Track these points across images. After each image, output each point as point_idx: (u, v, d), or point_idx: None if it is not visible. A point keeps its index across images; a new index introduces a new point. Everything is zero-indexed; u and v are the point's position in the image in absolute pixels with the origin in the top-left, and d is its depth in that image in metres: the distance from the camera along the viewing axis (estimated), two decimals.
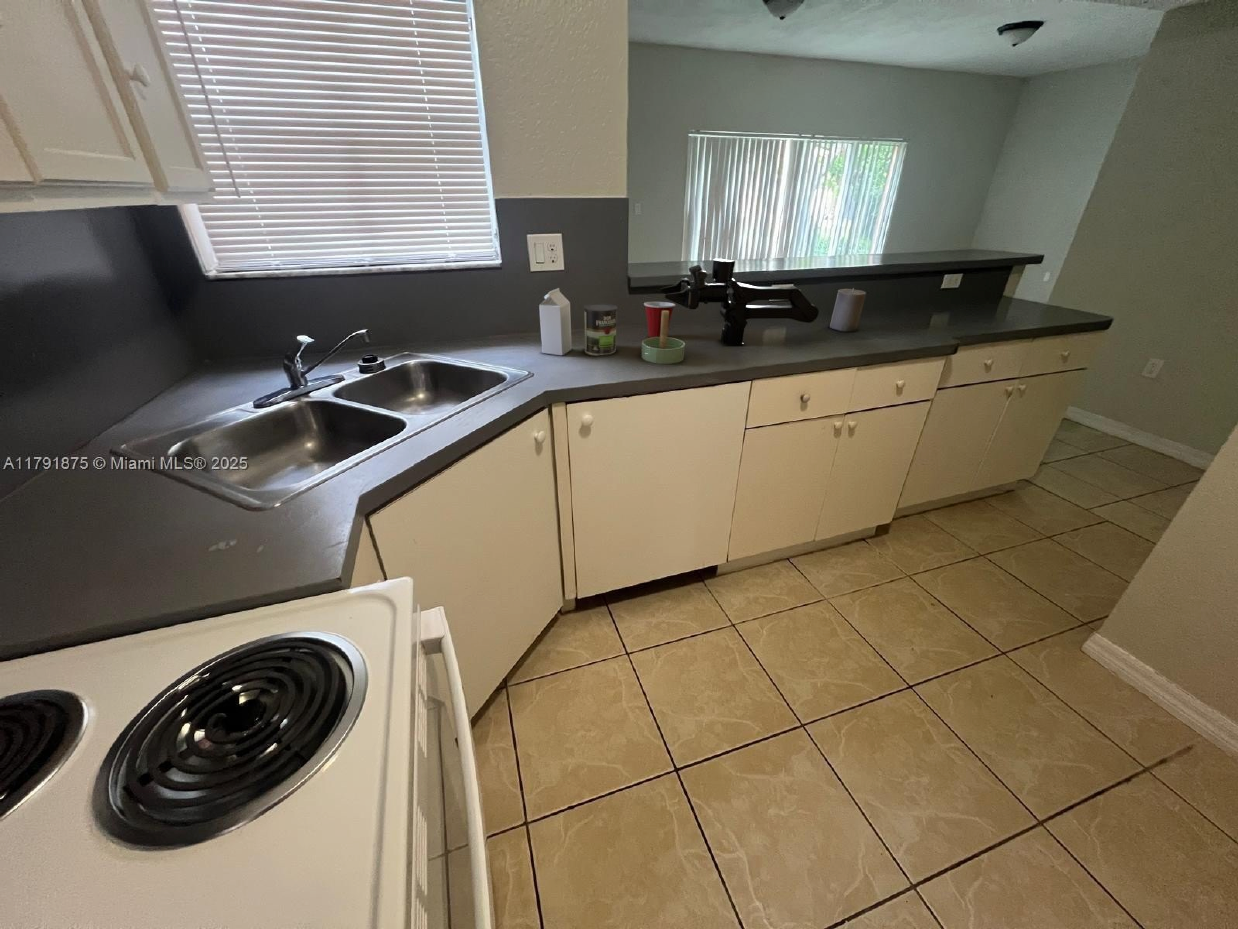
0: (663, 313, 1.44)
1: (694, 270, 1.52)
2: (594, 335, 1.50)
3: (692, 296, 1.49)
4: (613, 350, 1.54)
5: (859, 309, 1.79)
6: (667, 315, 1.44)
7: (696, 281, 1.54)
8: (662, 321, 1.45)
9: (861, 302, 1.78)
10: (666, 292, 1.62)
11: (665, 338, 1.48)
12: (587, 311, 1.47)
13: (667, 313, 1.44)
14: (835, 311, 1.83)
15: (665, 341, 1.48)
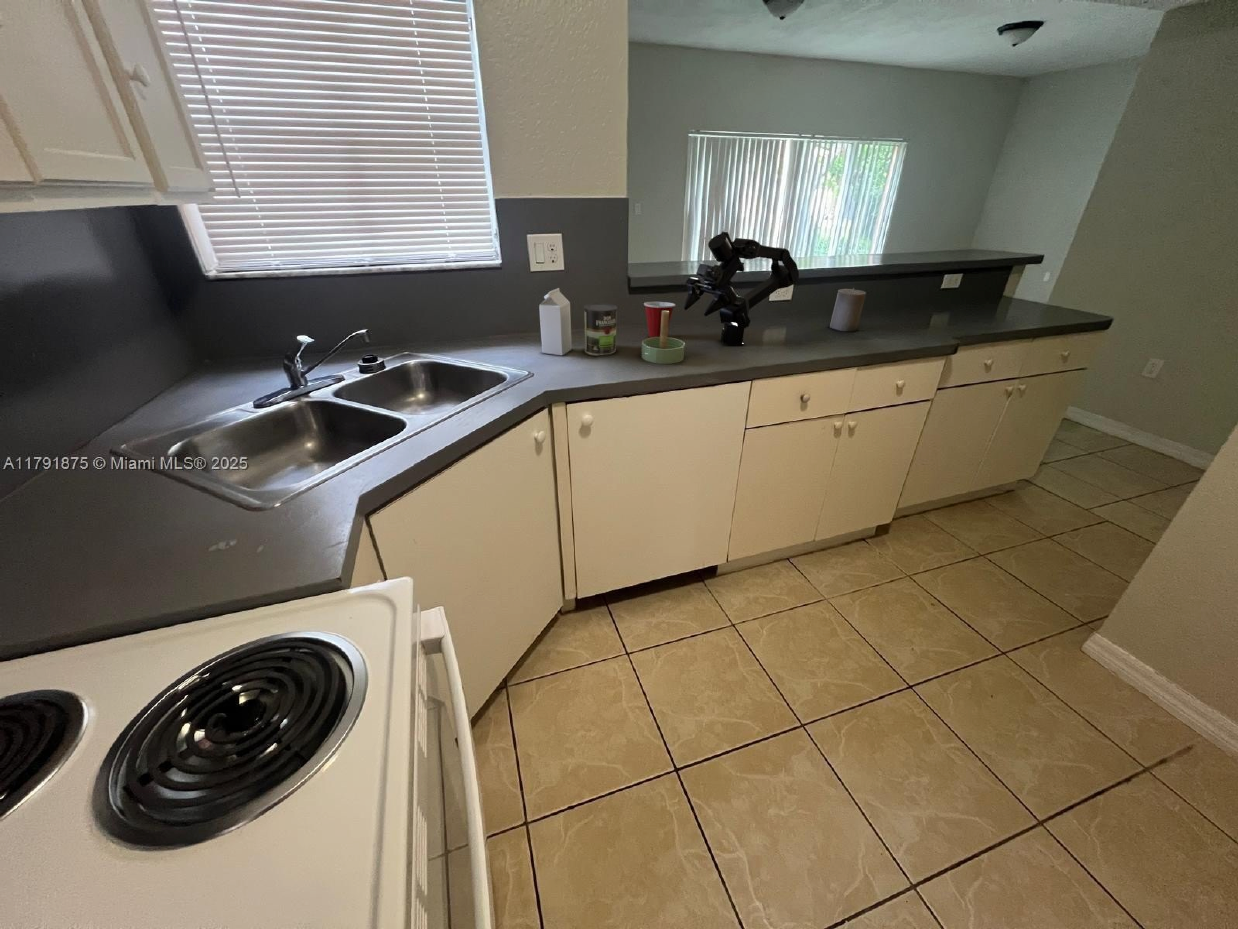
0: (663, 313, 1.44)
1: (707, 273, 1.45)
2: (594, 335, 1.50)
3: (729, 296, 1.45)
4: (613, 350, 1.54)
5: (859, 309, 1.79)
6: (667, 315, 1.44)
7: (714, 278, 1.47)
8: (662, 321, 1.45)
9: (861, 302, 1.78)
10: (689, 305, 1.55)
11: (665, 338, 1.48)
12: (587, 311, 1.47)
13: (667, 313, 1.44)
14: (835, 311, 1.83)
15: (665, 341, 1.48)
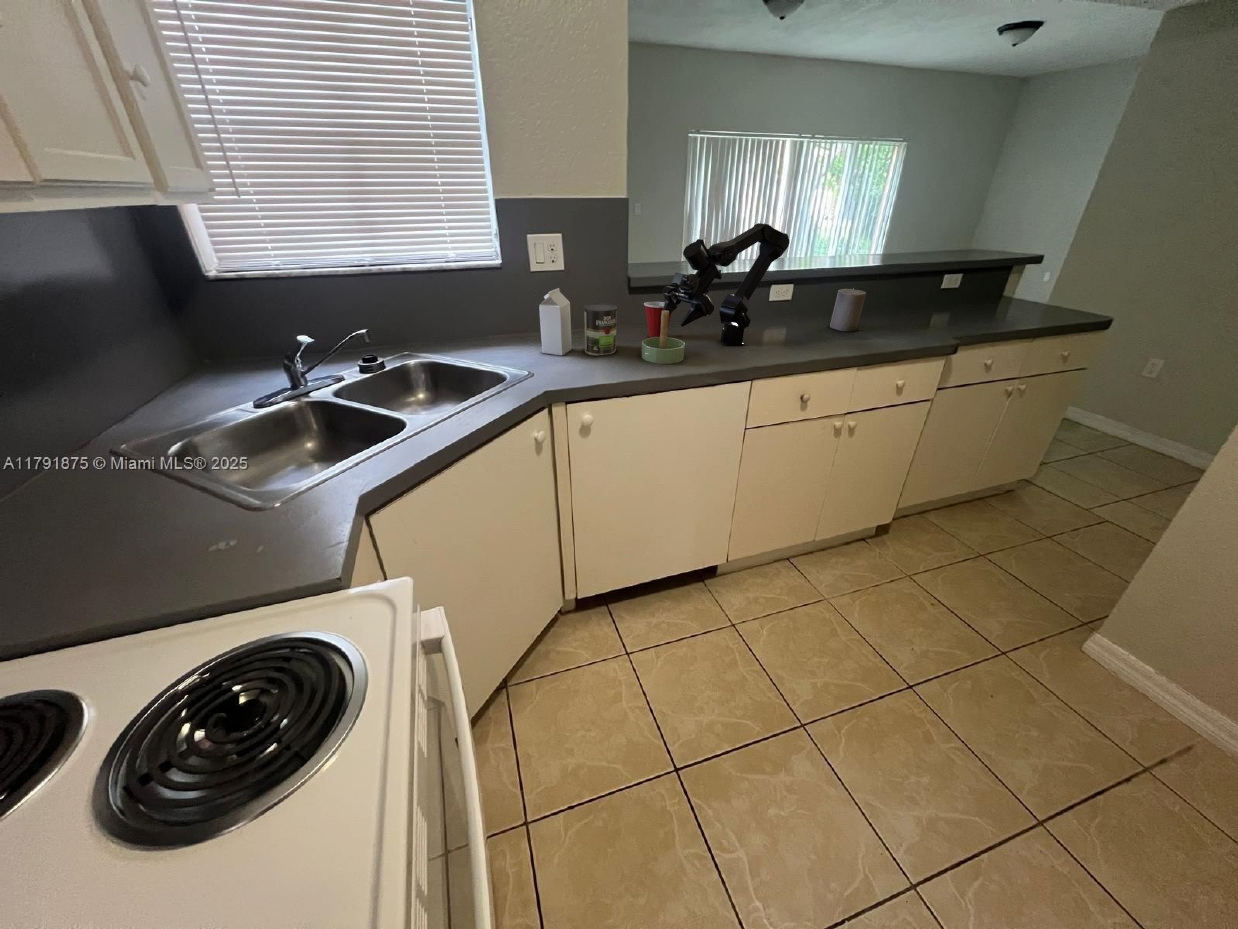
0: (663, 313, 1.44)
1: (682, 282, 1.41)
2: (594, 335, 1.50)
3: (706, 306, 1.40)
4: (613, 350, 1.54)
5: (859, 309, 1.79)
6: (667, 315, 1.44)
7: (690, 287, 1.43)
8: (662, 321, 1.45)
9: (861, 302, 1.78)
10: None
11: (665, 338, 1.48)
12: (587, 311, 1.47)
13: (667, 313, 1.44)
14: (835, 311, 1.83)
15: (665, 341, 1.48)
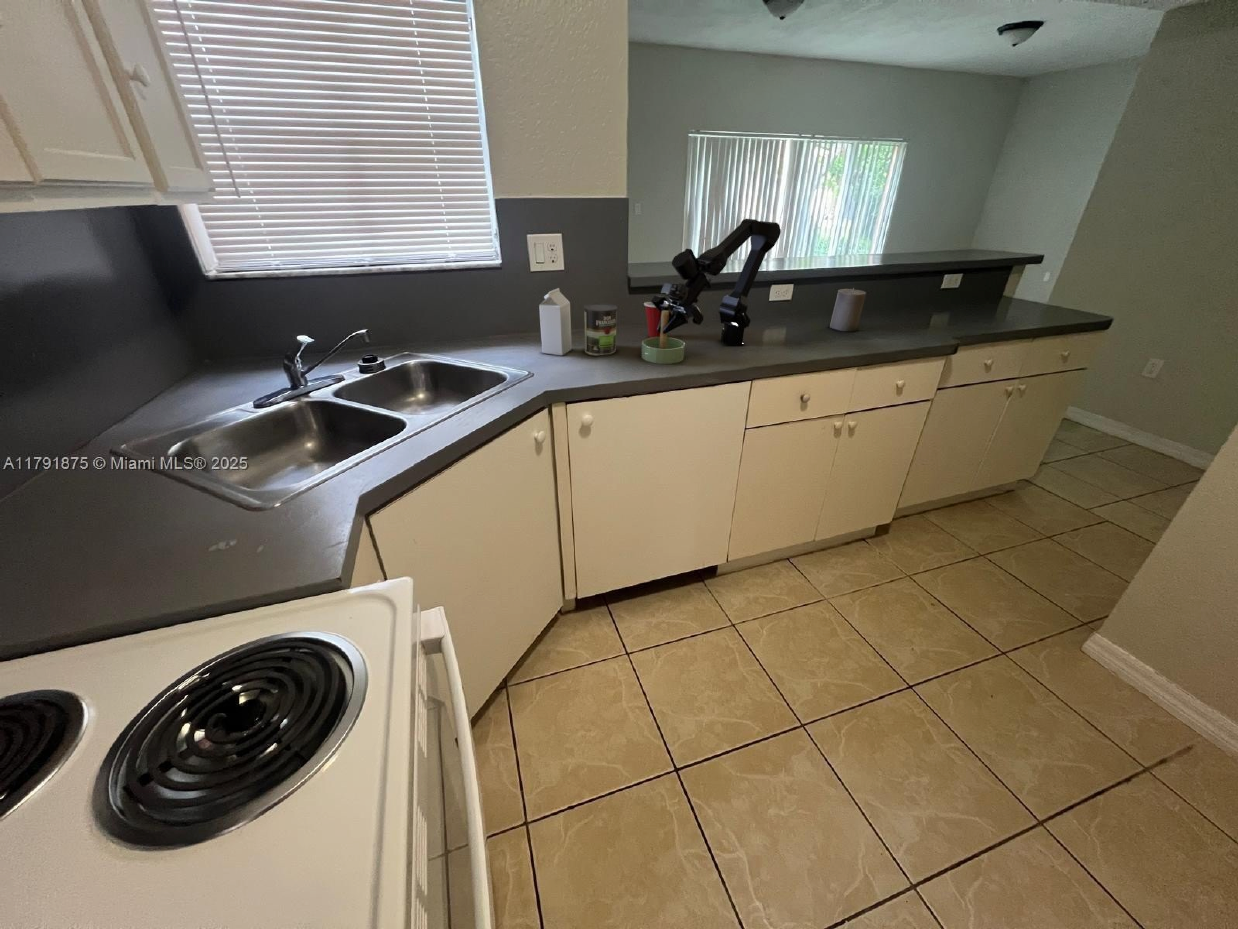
0: (663, 313, 1.44)
1: (671, 292, 1.40)
2: (594, 335, 1.50)
3: (695, 316, 1.40)
4: (613, 350, 1.54)
5: (859, 309, 1.79)
6: (667, 315, 1.44)
7: (679, 297, 1.42)
8: (662, 321, 1.45)
9: (861, 302, 1.78)
10: None
11: (665, 338, 1.48)
12: (587, 311, 1.47)
13: (667, 313, 1.44)
14: (835, 311, 1.83)
15: (665, 341, 1.48)
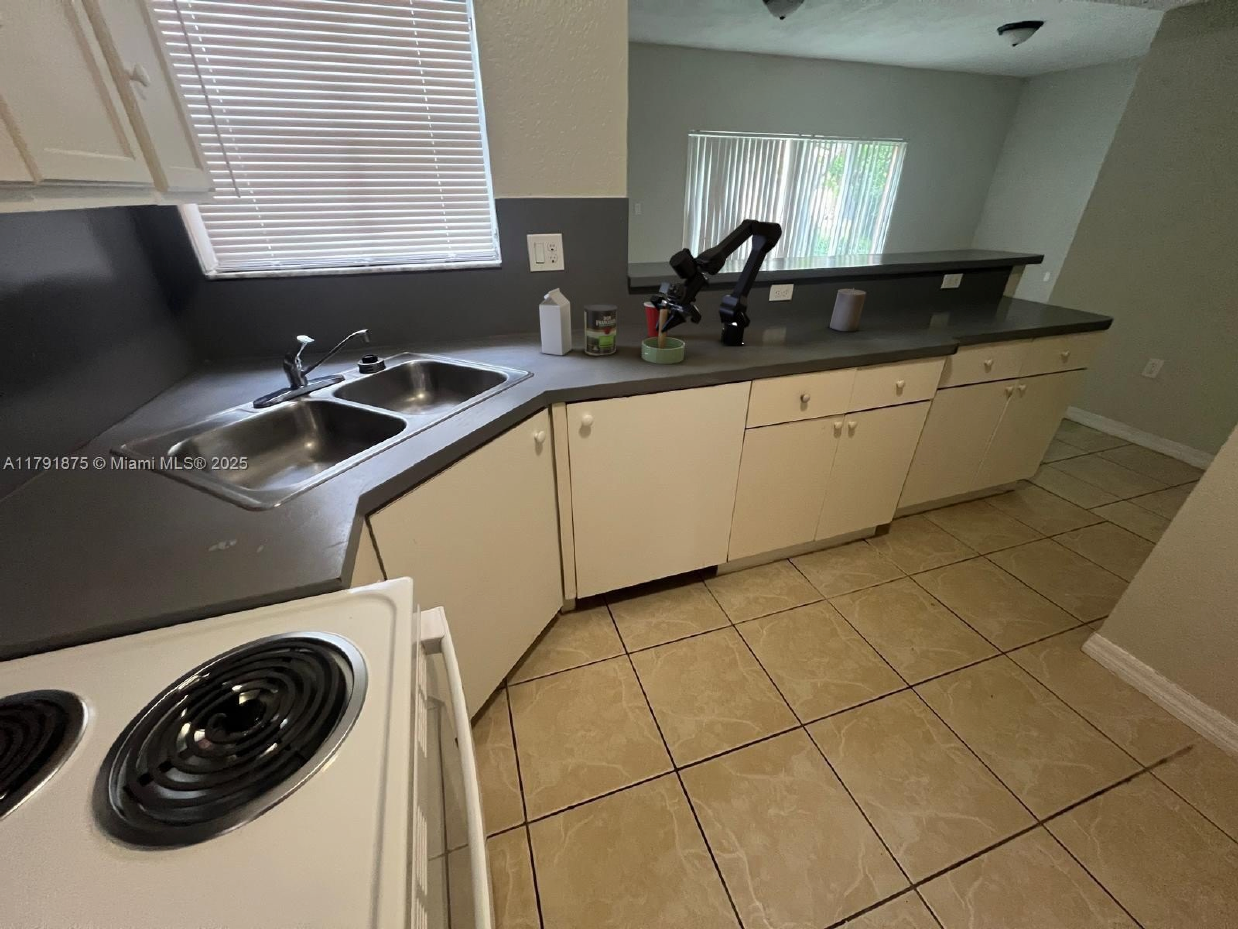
0: (661, 312, 1.45)
1: (669, 291, 1.41)
2: (594, 335, 1.50)
3: (693, 315, 1.40)
4: (613, 350, 1.54)
5: (859, 309, 1.79)
6: (665, 314, 1.45)
7: (677, 296, 1.43)
8: (660, 320, 1.46)
9: (861, 302, 1.78)
10: None
11: (663, 337, 1.48)
12: (587, 311, 1.47)
13: (665, 312, 1.45)
14: (835, 311, 1.83)
15: (663, 340, 1.49)
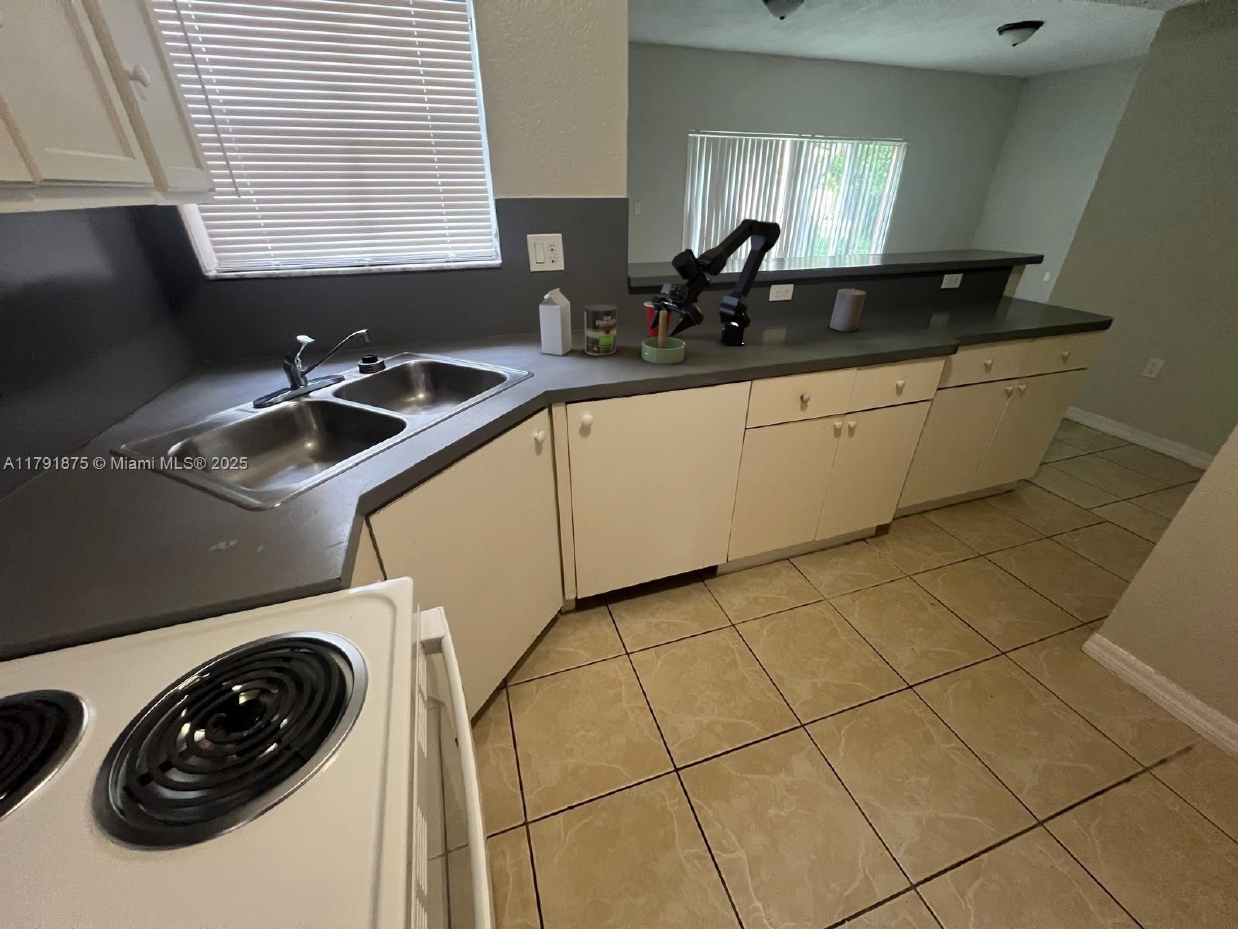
0: (661, 313, 1.44)
1: (671, 292, 1.40)
2: (594, 335, 1.50)
3: (695, 316, 1.40)
4: (613, 350, 1.54)
5: (859, 309, 1.79)
6: (665, 315, 1.44)
7: (679, 297, 1.42)
8: (660, 321, 1.45)
9: (861, 302, 1.78)
10: (655, 324, 1.50)
11: (663, 338, 1.47)
12: (587, 311, 1.47)
13: (665, 313, 1.44)
14: (835, 311, 1.83)
15: (663, 341, 1.48)
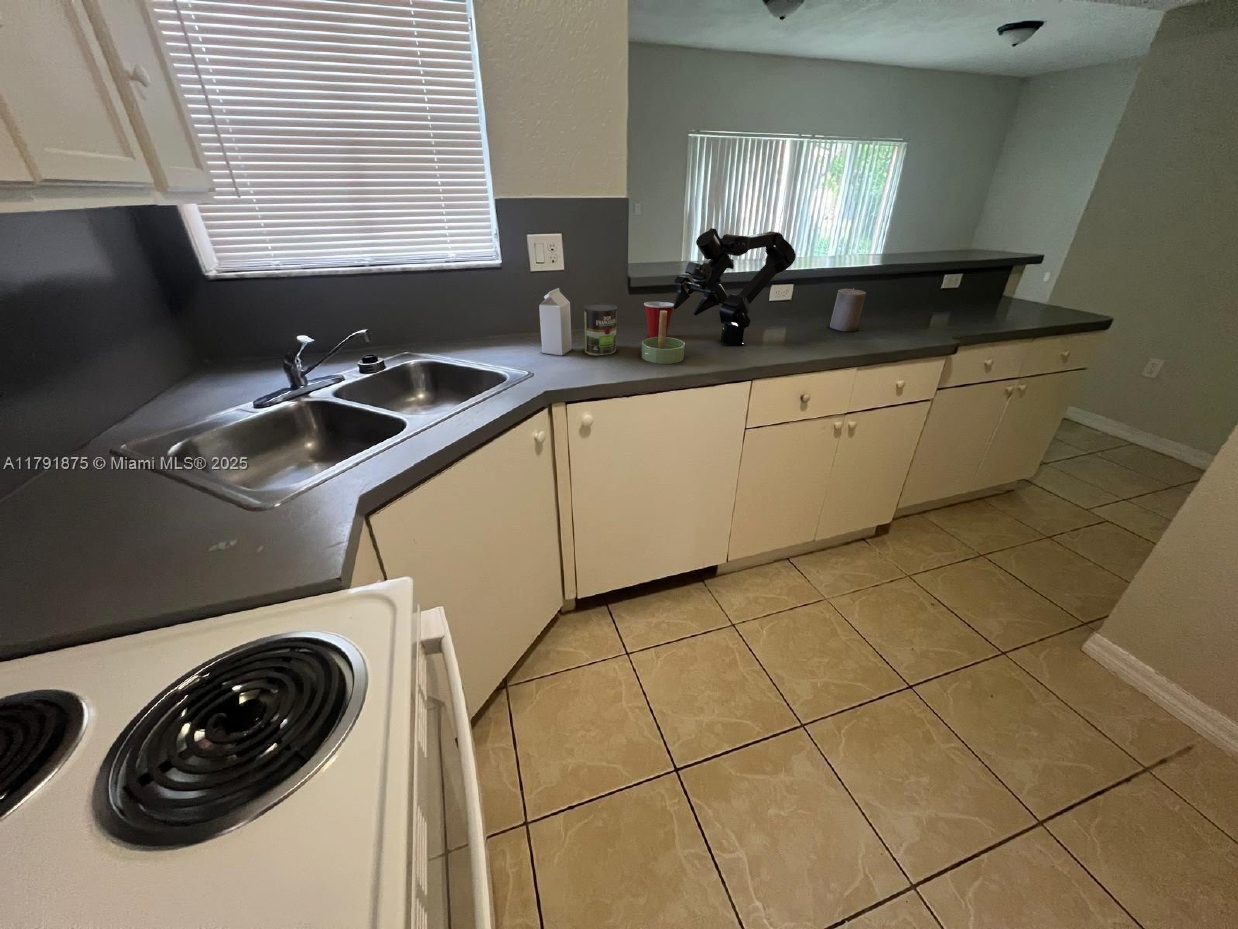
0: (661, 313, 1.44)
1: (696, 271, 1.42)
2: (594, 335, 1.50)
3: (719, 294, 1.42)
4: (613, 350, 1.54)
5: (859, 309, 1.79)
6: (665, 315, 1.44)
7: (703, 276, 1.44)
8: (660, 321, 1.45)
9: (861, 302, 1.78)
10: (678, 304, 1.52)
11: (663, 338, 1.47)
12: (587, 311, 1.47)
13: (665, 313, 1.44)
14: (835, 311, 1.83)
15: (663, 341, 1.48)
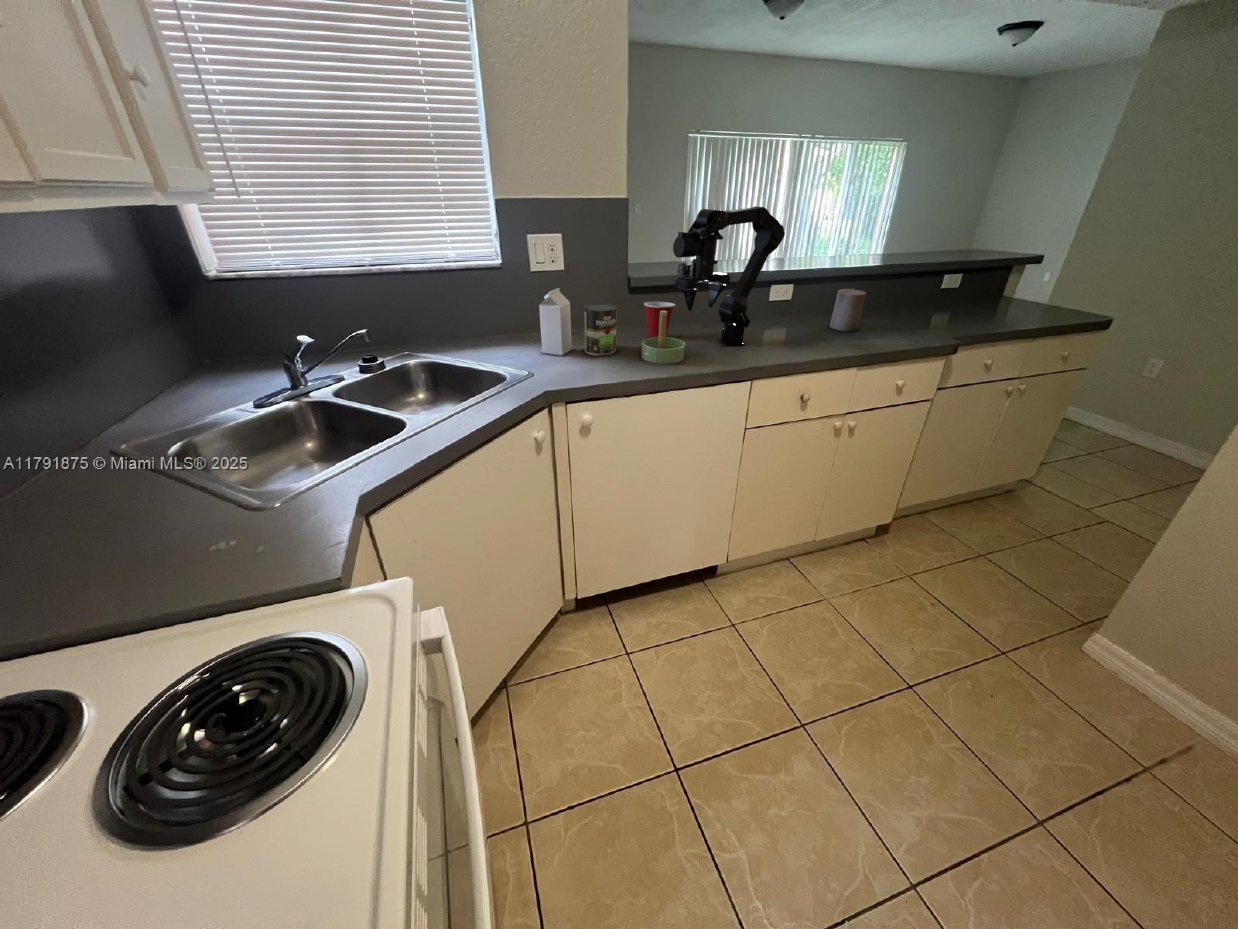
0: (661, 313, 1.44)
1: None
2: (594, 335, 1.50)
3: (678, 285, 1.47)
4: (613, 350, 1.54)
5: (859, 309, 1.79)
6: (665, 315, 1.44)
7: (688, 273, 1.51)
8: (660, 321, 1.45)
9: (861, 302, 1.78)
10: (712, 301, 1.56)
11: (663, 338, 1.47)
12: (587, 311, 1.47)
13: (665, 313, 1.44)
14: (835, 311, 1.83)
15: (663, 341, 1.48)
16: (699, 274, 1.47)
